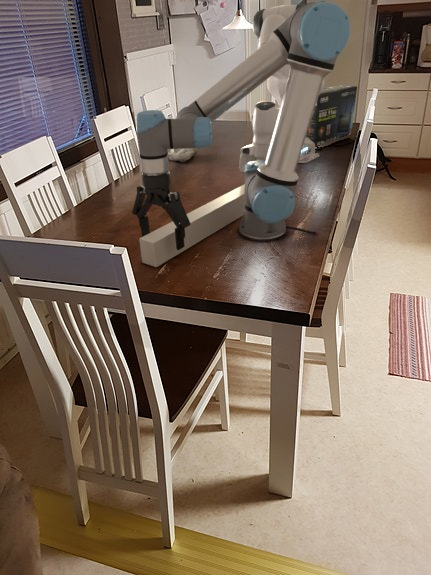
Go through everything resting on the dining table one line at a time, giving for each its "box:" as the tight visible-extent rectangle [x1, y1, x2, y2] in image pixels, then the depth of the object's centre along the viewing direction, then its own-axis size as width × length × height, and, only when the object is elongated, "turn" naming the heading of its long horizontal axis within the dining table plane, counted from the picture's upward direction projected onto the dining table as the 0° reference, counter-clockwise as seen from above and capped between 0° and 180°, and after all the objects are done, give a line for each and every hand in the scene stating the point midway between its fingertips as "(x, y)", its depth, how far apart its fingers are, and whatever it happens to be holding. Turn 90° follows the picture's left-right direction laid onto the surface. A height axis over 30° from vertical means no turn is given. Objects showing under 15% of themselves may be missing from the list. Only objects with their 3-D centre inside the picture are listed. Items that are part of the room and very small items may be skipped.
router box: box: [307, 84, 358, 146], centre depth 238 cm, size 36×11×27 cm, turn 134°
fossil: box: [167, 148, 199, 163], centre depth 229 cm, size 18×11×15 cm
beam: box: [138, 183, 245, 268], centre depth 155 cm, size 72×6×8 cm, turn 144°
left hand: (163, 242), depth 135 cm, fingers open, 13 cm apart
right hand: (263, 186), depth 174 cm, fingers open, 8 cm apart
